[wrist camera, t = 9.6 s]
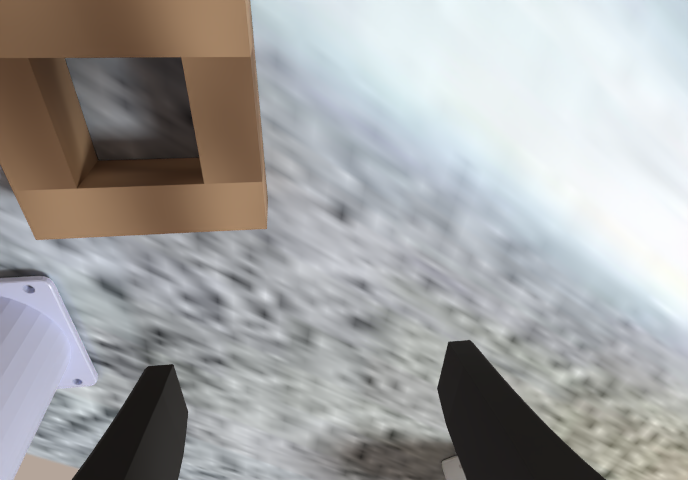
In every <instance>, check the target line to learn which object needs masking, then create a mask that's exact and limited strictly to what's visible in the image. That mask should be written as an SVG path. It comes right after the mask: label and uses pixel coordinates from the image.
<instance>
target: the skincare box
mask: <svg viewBox="0 0 688 480" xmlns="http://www.w3.org/2000/svg"><path fill="white" fill-rule="evenodd" d="M442 469H443V472H444V475H445V478H446V480H467V479H466V477H465V474H464V471H463V469H462V466H461V464H460V461H459V458H458V456H454V457H451V458H449V459H446V460H444V461H442Z"/></svg>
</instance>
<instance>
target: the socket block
mask: <svg viewBox="0 0 688 480" xmlns="http://www.w3.org/2000/svg"><path fill="white" fill-rule="evenodd" d="M115 57H181V59H182V64H183V70H184V75H185V81H186V86H187V92H188V97H189V103H190V108H191V114H192V119H193V125H194V130H195V136H196V141H197V147H198V152H199V158H171V159H137V160H104V161H98V159H97V156H96V153H95V150H94V147H93V143H92V140H91V137H90V134H89V131H88V128H87V125H86V122H85V119H84V116H83V113H82V110H81V107H80V104H79V101H78V98H77V95H76V92H75V89H74V86H73V83H72V80H71V76H70V73H69V70H68V67H67V64H66V61H65V58H115ZM0 165H1V167H2V169H3V171H4V173H5V175H6V177H7V179H8V182H9V184H10V186H11V188H12V190H13V192H14V194H15V196H16V198H17V201H18V203H19V205H20V207H21V209H22V211H23V213H24V215H25V218H26V220H27V222H28V224H29V226H30V228H31V230H32V232H33V235H34V237H35V239H36V240H45V239H65V238H86V237H107V236H127V235H148V234H168V233H189V232H210V231H230V230H251V229H267V209H268V196H267V185H266V174H265V163H264V151H263V140H262V129H261V117H260V106H259V95H258V84H257V72H256V61H255V50H254V39H253V27H252V16H251V5H250V0H0Z"/></svg>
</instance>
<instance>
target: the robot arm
mask: <svg viewBox="0 0 688 480" xmlns="http://www.w3.org/2000/svg"><path fill="white" fill-rule="evenodd" d="M28 285H30V286H32V287H33V288H31V287H29V286H28ZM97 379H98V374H97V372H96V370H95V368H94V366H93V364H92V361H91V359H90V357H89V355H88V353H87V351H86V349H85V347H84V345H83V343H82V340H81V338H80V336H79V334H78V332H77V330H76V328H75V326H74V324H73V321H72V319H71V317H70V315H69V313H68V311H67V309H66V307H65V305H64V303H63V300H62V298H61V296H60V294H59V292H58V290H57V288H56V286H55V284H54V282H53V281H52V280H51V279H49V278H48V277H45V276H29V277H11V278H0V480H13V479H14V477H15V475H16V473H17V471H18V469H19V467H20V465H21V462H22V461H23V458H24V456H25V454H26V452H27V450H28V448H29V446H30V444H31V442H32V440H33V437H34V435H35V433H36V431H37V429H38V427H39V425H40V423H41V421H42V419H43V416H44V414H45V412H46V410H47V408H48V406H49V404H50V402H51V400H52V398H53V395H54V393H55V391H56V389H59V388H71V387H82V386H91V385H94V384H95V383H96V382H97ZM437 390H438V394H439V398H440V402H441V406H442V410H443V414H444V418H445V422H446V426H447V428H448V431H449V434H450V437H451V439H452V442H453V445H454V447H455V450H456V453H457V456H458V458H459V461H460V464H461V466H462V469H463V471H464V474H465V477H466V479H467V480H606V479H604V478H603V477H602V476H601V475H600V474H599V473H598V472H596V471H595V470H594V469H593V468H592V467H591V466H590V465H588V464H587V463H586V462H585V461H584V460H583V459H582V458H581V457H580V456H578V455H577V454H576V453H575V452H574V451H573V450H572V449H571V448H570V447H569V446H568V445H567V444H566V443H565V442H564V441H562V440H561V439H560V438H559V437H558V436H557V435H556V434H555V433H554V432H553V431H552V430H551V429H550V428H549V427H548V426H547V425H546V424H545V423H544V422H543V421H542V420H541V419H540V418H539V417H538V416H537V414H536V413H535V412H534V411H533V410H532V409H531V408H530V407H529V406H528V405H527V404H526V403H525V402H524V401H523V399H522V398H521V397H520V396H519V395H518V394H517V393H516V392H515V391H514V390H513V389H512V388H511V386H510V385H509V384H508V383H507V382H506V381H505V380H504V378H503V377H502V376H501V375H500V374H499V373H498V372H497V370H496V369H495V368H494V367H493V366H492V365H491V363H490V362H489V361H488V360H487V359H486V358H485V356H484V355H483V354H482V353H481V352H480V350H479V349H478V348H477V347H476V346H475V345H474V343H473V342H472V341H471V340H465V341H453V342H448V346H447V350H446V354H445V358H444V363H443V367H442V371H441V375H440V379H439V384H438V388H437ZM187 419H188V410H187V407H186V404H185V400H184V397H183V394H182V391H181V387H180V384H179V381H178V378H177V375H176V371H175V368H174V365H173V364H170V365H158V366H148V367H147V368H146V369H145V370H144V372H143V373H142V375H141V377H140V378H139V380H138V382H137V383H136V385H135V387H134V388H133V390H132V392H131V393H130V395H129V396H128V398H127V400H126V401H125V403H124V404H123V406H122V408H121V409H120V411H119V412H118V414H117V415H116V417H115V419H114V420H113V422H112V423H111V425H110V426H109V428H108V429H107V430H106V432H105V433H104V435H103V436H102V438H101V439H100V441H99V442H98V444H97V445H96V447H95V448H94V450H93V451H92V453H91V454H90V455H89V457H88V458H87V460H86V461H85V462H84V464H83V465H82V466H81V468H80V469H79V470H78V472H77V473H76V475H75V476H74V477H73V479H72V480H178V477H179V473H180V468H181V463H182V459H183V454H184V446H185V438H186V428H187Z"/></svg>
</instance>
